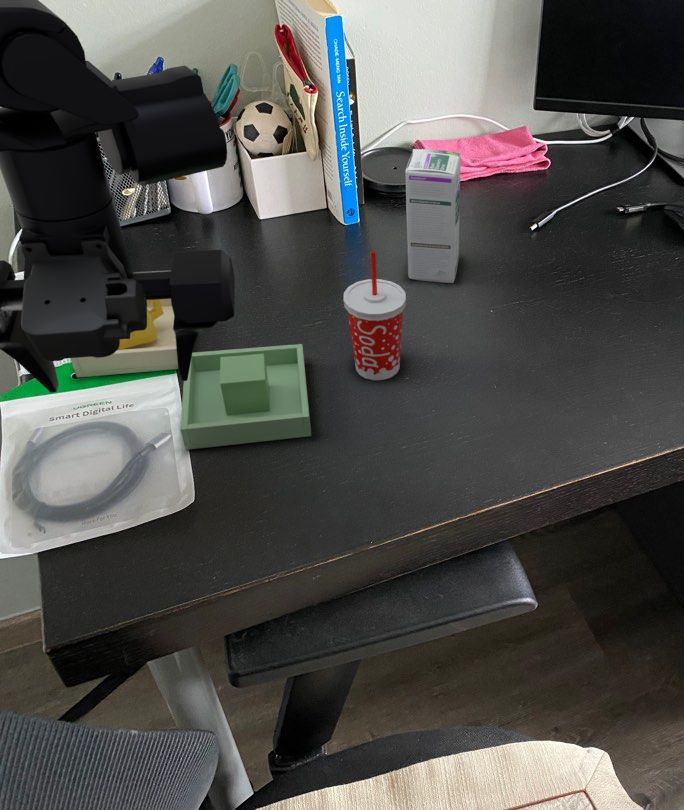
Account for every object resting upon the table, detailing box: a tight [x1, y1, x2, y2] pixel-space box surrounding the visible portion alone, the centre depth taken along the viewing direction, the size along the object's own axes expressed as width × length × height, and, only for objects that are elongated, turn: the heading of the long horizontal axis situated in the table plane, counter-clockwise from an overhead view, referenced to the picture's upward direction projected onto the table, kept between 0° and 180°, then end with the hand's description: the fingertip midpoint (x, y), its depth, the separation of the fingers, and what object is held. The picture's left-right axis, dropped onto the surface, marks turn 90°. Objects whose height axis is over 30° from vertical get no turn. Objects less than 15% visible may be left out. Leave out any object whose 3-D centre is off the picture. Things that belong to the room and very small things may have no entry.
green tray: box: [179, 343, 312, 451], centre depth 80 cm, size 11×11×3 cm
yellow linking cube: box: [118, 299, 164, 350], centre depth 84 cm, size 8×6×5 cm
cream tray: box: [69, 299, 178, 378], centre depth 85 cm, size 10×11×3 cm
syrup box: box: [404, 148, 462, 284], centre depth 97 cm, size 6×6×14 cm
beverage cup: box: [343, 250, 407, 381], centre depth 82 cm, size 6×6×14 cm
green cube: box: [220, 354, 270, 415], centre depth 79 cm, size 4×4×4 cm
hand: (121, 383), depth 63 cm, fingers open, 9 cm apart
